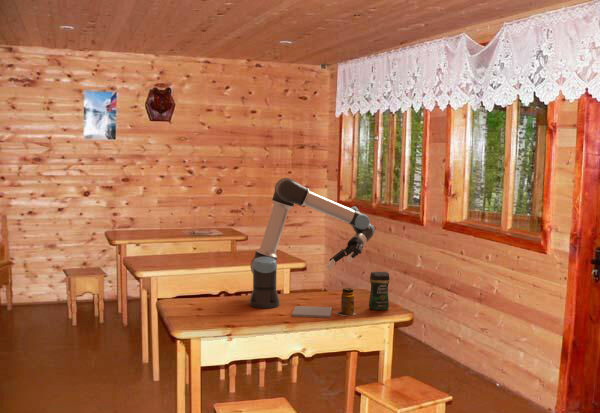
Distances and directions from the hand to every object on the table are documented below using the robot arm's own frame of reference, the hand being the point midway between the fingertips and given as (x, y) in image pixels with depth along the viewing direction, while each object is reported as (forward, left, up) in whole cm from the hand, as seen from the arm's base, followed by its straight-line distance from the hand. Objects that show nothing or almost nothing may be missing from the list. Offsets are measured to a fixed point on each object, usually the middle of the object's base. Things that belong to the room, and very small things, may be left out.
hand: (337, 264), depth 321 cm
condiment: (+5, -12, -22) cm, 25 cm away
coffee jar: (+21, 0, -22) cm, 30 cm away
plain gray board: (-11, -13, -22) cm, 27 cm away
